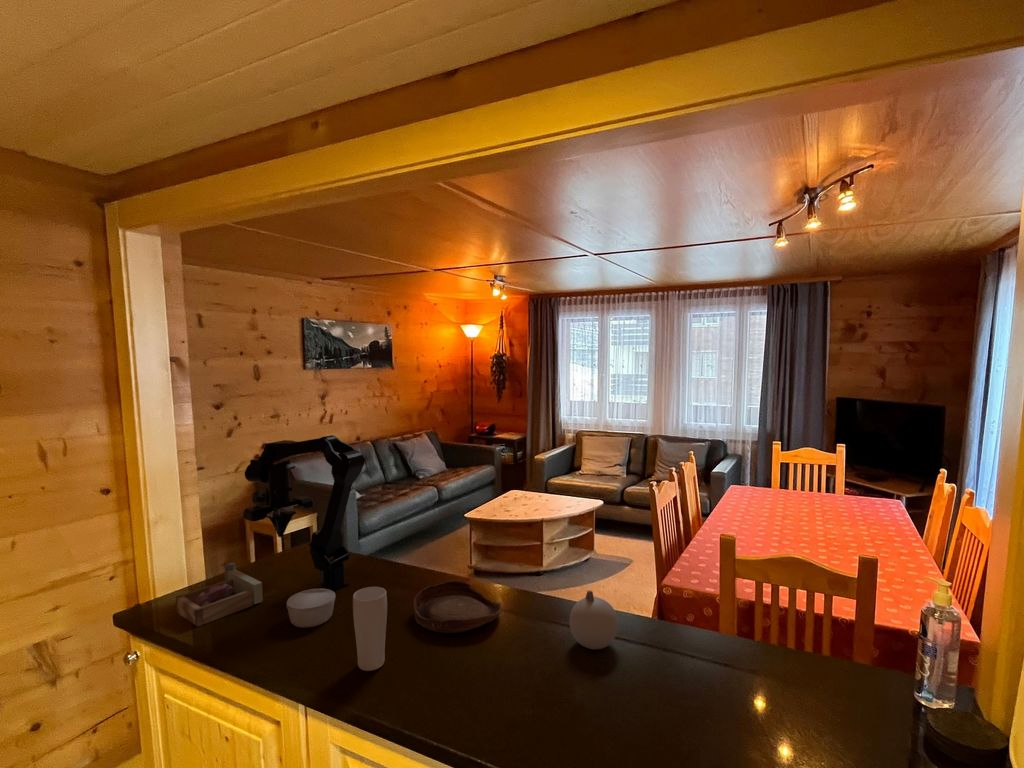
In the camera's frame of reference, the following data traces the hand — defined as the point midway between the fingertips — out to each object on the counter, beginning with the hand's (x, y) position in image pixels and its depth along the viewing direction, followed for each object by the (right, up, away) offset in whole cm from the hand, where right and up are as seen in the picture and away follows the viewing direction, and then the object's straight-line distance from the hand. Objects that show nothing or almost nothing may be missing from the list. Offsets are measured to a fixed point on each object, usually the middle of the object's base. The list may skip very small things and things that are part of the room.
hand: (280, 536), depth 150 cm
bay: (-8, -13, -19) cm, 24 cm away
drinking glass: (+39, -13, -44) cm, 61 cm away
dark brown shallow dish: (+55, -13, -25) cm, 61 cm away
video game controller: (-9, -13, -18) cm, 24 cm away
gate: (-5, -12, -12) cm, 18 cm away
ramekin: (+19, -13, -25) cm, 34 cm away
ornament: (+86, -13, -38) cm, 95 cm away
